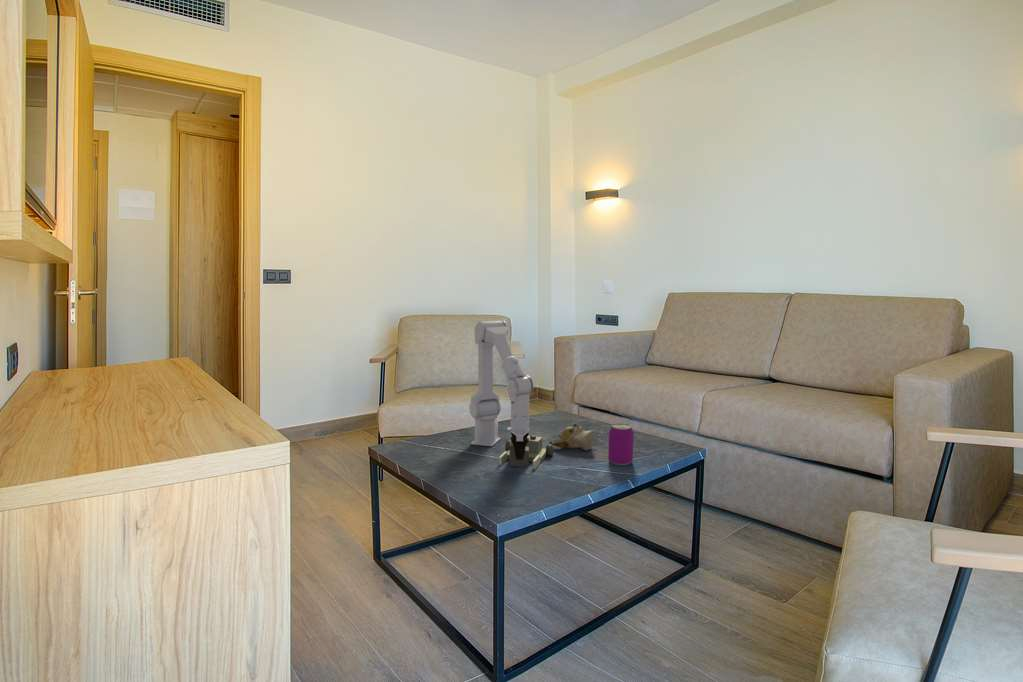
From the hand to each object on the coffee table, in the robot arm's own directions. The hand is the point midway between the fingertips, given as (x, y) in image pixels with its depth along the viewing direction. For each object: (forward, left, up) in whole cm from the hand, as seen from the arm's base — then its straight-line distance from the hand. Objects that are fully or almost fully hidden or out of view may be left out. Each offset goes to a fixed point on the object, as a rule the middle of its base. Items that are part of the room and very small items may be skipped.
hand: (519, 456), depth 180 cm
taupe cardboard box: (0, 0, -2) cm, 2 cm away
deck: (-5, 0, -2) cm, 6 cm away
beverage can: (-12, +30, -2) cm, 32 cm away
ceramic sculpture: (-22, +13, -3) cm, 25 cm away
